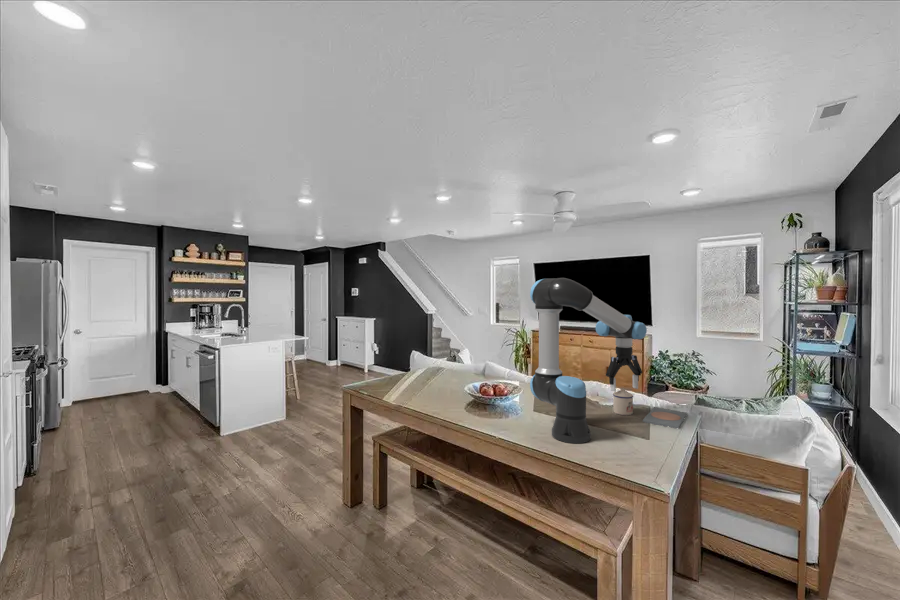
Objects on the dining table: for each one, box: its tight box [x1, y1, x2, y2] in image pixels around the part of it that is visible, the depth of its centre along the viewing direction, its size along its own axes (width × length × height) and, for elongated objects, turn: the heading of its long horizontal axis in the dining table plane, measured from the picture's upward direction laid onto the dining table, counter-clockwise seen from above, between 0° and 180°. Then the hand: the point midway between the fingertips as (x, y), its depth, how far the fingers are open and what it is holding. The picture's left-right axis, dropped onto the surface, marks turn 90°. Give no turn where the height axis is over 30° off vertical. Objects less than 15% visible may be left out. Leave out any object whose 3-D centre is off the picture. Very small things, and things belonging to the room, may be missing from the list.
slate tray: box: [642, 406, 688, 430], centre depth 176 cm, size 24×14×1 cm, turn 141°
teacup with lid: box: [612, 387, 634, 416], centre depth 186 cm, size 12×9×12 cm
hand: (624, 389), depth 186 cm, fingers open, 13 cm apart
